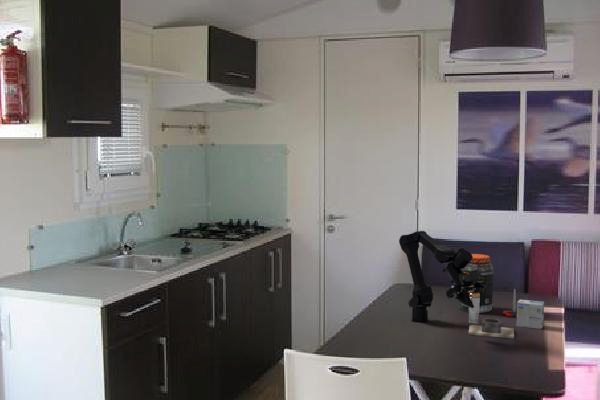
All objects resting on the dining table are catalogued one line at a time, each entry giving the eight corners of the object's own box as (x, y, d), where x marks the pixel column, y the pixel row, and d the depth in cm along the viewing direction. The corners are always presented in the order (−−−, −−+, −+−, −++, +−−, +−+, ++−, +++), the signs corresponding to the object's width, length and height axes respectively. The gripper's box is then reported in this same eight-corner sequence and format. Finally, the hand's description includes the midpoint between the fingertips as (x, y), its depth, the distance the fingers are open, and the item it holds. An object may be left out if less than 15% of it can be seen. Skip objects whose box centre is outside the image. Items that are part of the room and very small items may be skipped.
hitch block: (468, 334, 288) (469, 322, 288) (469, 326, 300) (470, 315, 299) (513, 338, 283) (514, 326, 283) (513, 330, 295) (513, 319, 294)
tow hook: (501, 312, 327) (504, 316, 318) (502, 285, 326) (505, 288, 317) (520, 313, 326) (523, 317, 316) (521, 286, 325) (524, 289, 316)
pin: (468, 323, 280) (469, 293, 279) (468, 320, 284) (469, 291, 283) (478, 323, 279) (479, 294, 278) (478, 321, 283) (480, 292, 282)
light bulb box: (543, 325, 303) (544, 301, 302) (541, 329, 297) (543, 304, 296) (518, 322, 308) (519, 298, 307) (516, 326, 302) (517, 302, 301)
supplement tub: (495, 308, 333) (497, 254, 331) (488, 315, 320) (490, 259, 317) (462, 304, 341) (464, 252, 338) (454, 311, 327) (455, 256, 324)
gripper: (452, 266, 277) (472, 298, 269) (483, 261, 288) (504, 293, 280) (437, 281, 284) (456, 314, 276) (468, 277, 295) (488, 308, 287)
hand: (476, 307), depth 280 cm, fingers closed on pin, 4 cm apart
